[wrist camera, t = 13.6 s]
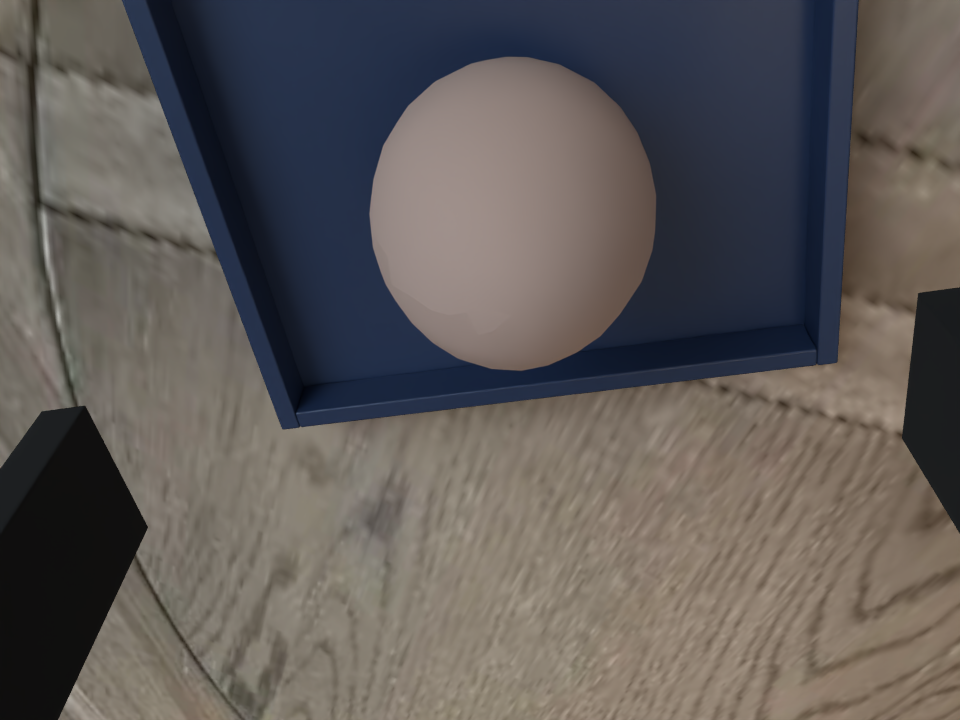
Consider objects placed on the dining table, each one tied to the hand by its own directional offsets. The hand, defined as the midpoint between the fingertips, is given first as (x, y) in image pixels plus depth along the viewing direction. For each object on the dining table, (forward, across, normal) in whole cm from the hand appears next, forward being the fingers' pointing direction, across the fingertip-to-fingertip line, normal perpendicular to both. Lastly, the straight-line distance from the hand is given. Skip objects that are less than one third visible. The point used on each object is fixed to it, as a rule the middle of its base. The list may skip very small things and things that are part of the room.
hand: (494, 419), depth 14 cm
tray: (+13, 0, 0) cm, 13 cm away
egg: (+12, 0, 0) cm, 13 cm away
